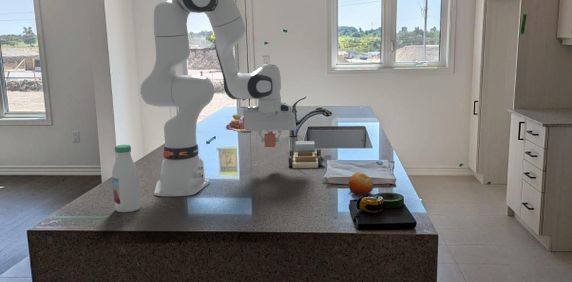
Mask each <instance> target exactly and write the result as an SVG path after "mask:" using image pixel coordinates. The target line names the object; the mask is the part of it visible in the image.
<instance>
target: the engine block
mask: <svg viewBox="0 0 572 282" xmlns="http://www.w3.org/2000/svg"><path fill="white" fill-rule="evenodd" d="M266 131H267V132H265V133H264V135H263V137H264V139H265V142H264V148H276V147H277V145H276V143H277V142H275V137H277V136H276V135H277V133H276V132H274V130H266Z"/></svg>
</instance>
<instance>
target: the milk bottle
mask: <svg viewBox="0 0 572 282" xmlns="http://www.w3.org/2000/svg"><path fill="white" fill-rule="evenodd" d="M114 152H115V155H116V157H115V161H114V164H113V167H112V174H111V175H112V188H113V200H114V209H115V211H116V212H118V213H131V212H135V211H138V210H140V209H141V207H142V202H141V189H140V179H139V178H140V177H139V170H138V168H137V165H136V163H135V162H134V160H133V158H132V157H133V156H132V155H131V153H132V146H131V145H130V144H120V145H119V144H118V145H116V146H115V147H114Z"/></svg>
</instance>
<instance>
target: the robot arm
mask: <svg viewBox="0 0 572 282" xmlns="http://www.w3.org/2000/svg"><path fill="white" fill-rule="evenodd" d="M191 13H195V14H196V13H197V14H199V13H204V14H205V15H206V17H207V18H208V20H209V23H210V26H211V29H212V31H213V34H214V35H213V36H214V42H213V43H214V50H215V54H216V57H217V60H218V63H219V68H220V71H221V74H222V78H223V88H224V93H226V95H227V97H229V98H230V99H231V100H257V102H258V103H257V106H246V107H244V109H243V110H242V116H244V118H245V119H244V129H245V130H246V131H248V132H257V133H258V136H259V137H260V138H261V139H260V142H261V143H265V139H264V135H263V134H262V133H263V131H277V133H278V135H277V136H276V137H275V142H276V143H279V142H280V137H281V135H282V133H283V131H295V129H296V128H297V125H296V123H297V122H296V116H295V113H294V112H293V106H292V104H289V103H286V102H282V96H281V89H282V88H281V87H282V83H281V82H282V80H281V72H280V69H279V68H280V67H278V66H277V65H275V64H268V63H262V64H259V67H258V68H257V69H255V70H253V71H251V72H247V73H242V72H241V71H240V70H239V69H238V65H237V62H236V58H235V55H234V47H235V46H236V45H237V44H239V43H240V42H241V41H242V40H243V38H244V36H245V33H246V28H245V23H244V19H243V17H242V15H241V11H240V9H239V8H238V5H237V3H236V1H235V0H163V1H160V2H158V3H157V4H155V7H154V9H153V34H154V35H153V36H154V42H155V62H154V66H153V68H152V71H151V72H150V74H149V75H148V76H147V77H145V79H144V80H143V81H142V83H141V85H140V95H141V98H142V100H143V101H144V102H145V104H147V105H149V106H153V107H161V108H163V107H166V108H167V107H168V108H170V107H171V108H176V107H177V109H178V111H177V114H175V115H174V116H173V117H171V118H169V119H168V120H166V122H165V123H164V126H163V132H164V133H163V135H164V136H163V137H164V146H163V152H162V156H163V158H164V159H163V160H161V169H160V173H159V180H157V181H156V185H155V189H154V192H153V194H154V196H159V197H186V196H192V195H195V194H197V193H198V192H200V191H201V190H202V189H204V188H205V187H206V186H208V185H209V184H210V182H211V181H210V179H207V178H205V177H206V175H205V168H204V166H205V165H204V160H203V159H202V158H200V156H199V154H200V153H199V145H198V143H197V123H198V119H199V116H200V114H201V112H202V111H203V110H204V108H205V107H207V106H208V105H209V104H210V103H211V102H212V100H213V98H214V96H215V95H214V94H215V87H214V84H213V82H212V80H211V79H210V77H207V76H202V75H197V74H177V73H176V70H177V68H178V67H179V66H181V65H182V64H184V63H186V62H187V61H188V59H189V58H190V55H191V51H190V41H189V33H188V27H187V26H188V18H189V15H190V14H191Z"/></svg>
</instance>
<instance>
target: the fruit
mask: <svg viewBox="0 0 572 282" xmlns="http://www.w3.org/2000/svg"><path fill="white" fill-rule="evenodd" d="M348 188H349V192H348V195H349V194H353V195H355V196H358V195H359V197H365V196H366V195H368V194H370V193H371V192H372V191H373V190H374V183H373V180H372V178H370V176H368V175H367V174H365V173H361V172H356V173H354V174H352V175H351V176H350V178H349V180H348Z"/></svg>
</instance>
